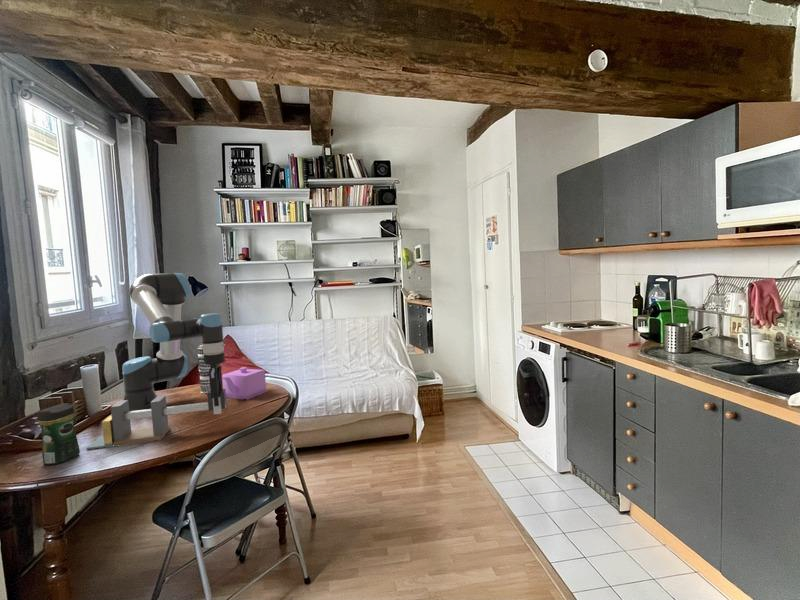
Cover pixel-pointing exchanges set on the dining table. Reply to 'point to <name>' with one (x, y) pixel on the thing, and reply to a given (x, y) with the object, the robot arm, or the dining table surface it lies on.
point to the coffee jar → (58, 433)
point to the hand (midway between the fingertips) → (218, 411)
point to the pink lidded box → (244, 383)
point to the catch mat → (99, 443)
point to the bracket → (129, 436)
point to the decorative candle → (203, 371)
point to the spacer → (108, 430)
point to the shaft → (180, 407)
